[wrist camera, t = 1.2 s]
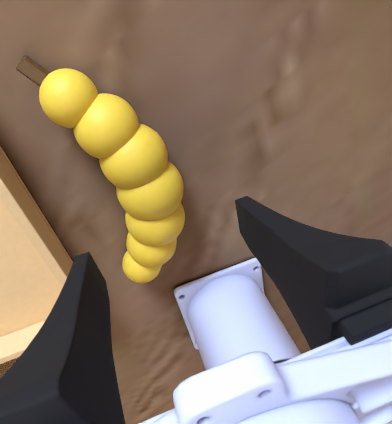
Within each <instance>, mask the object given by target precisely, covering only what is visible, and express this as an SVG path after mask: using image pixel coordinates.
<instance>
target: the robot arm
mask: <svg viewBox="0 0 392 424" xmlns="http://www.w3.org/2000/svg"><path fill="white" fill-rule="evenodd" d="M235 203H236V209H237V216H238V222H239V228H240V233H241V234H242V236H243V238H244V240H245V242H246V244H247V246H248V247H249V249H250V250H251V252H252V253H253V254H254V256H255V257H256V258H253V259H250V260H248V261H245V262H242V263H240V264H237V265H234V266H232V267H229V268H227V269H224V270H221V271H219V272H216V273H213V274H211V275H208V276H205V277H203V278H200V279H198V280H195V281H192V282H190V283H187V284H184V285H182V286H179V287H177V288H176V289H175V290H174V295H175V298H176V300H177V303H178V305H179V308H180V311H181V313H182V316H183V318H184V321H185V324H186V326H187V329H188V331H189V334H190V337H191V339H192V342H193V344H194V347H195V349H199V352H200V355H201V358H202V361H203V364H204V367H205V371H203V372H200V373H198V374H196V375H193V376H191V377H189V378H188V379H186V380H184V381H183V382H181V383H180V384H179V386H178V387H177V388H176V389H175V390H174V392H173V401H174V406H175V408H174V409H172V410H169V411H167V412H165V413H162V414H160V415H158V416H155V417H153V418H151V419H148V420H146V421H144V422H141V423H139V424H388V423H390V422H392V247H391V246H389V245H388V244H387V243H385V242H384V241H382V240H375V239H366V238H357V237H351V236H346V235H341V234H336V233H332V232H328V231H324V230H320V229H317V228H314V227H311V226H308V225H305V224H302V223H299V222H297V221H294V220H292V219H290V218H287V217H285V216H283V215H281V214H279V213H277V212H275V211H273V210H271V209H269V208H267V207H266V206H264V205H262V204H260V203H258V202H257V201H255V200H253V199H251V198H249V197H248V196H245V197H243V198H240V199H237V200H235ZM261 265H262V267H263V268H264V269H265V271H266V272H267V273H268V275H269V276H270V278H271V279H272V280H273V282H274V283H275V285H276V286H277V288H278V289H279V291H280V293H281V295H282V296H283V298H284V300H285V302H286V303H287V305H288V307H289V309H290V310H291V312H292V314H293V316H294V318H295V319H296V321H297V323H298V325H299V327H300V329H301V331H302V333H303V334H304V336H305V338H306V340H307V342H308V344H309V346H310V348H311V350H310V351H308V352H306V353H303V354H301V353H300V351H299V349H298V348H297V346H296V345H295V343H294V341H293V340H292V338H291V337H290V335H289V333H288V332H287V330H286V328H285V327H284V325H283V324H282V322H281V320H280V319H279V317H278V315H277V314H276V312H275V311H274V309H273V307H272V306H271V304H270V303H269V301H268V299H267V298H266V296H265V294H264V286H263V278H262V269H261ZM181 295H182V296H181ZM0 424H125V419H124V415H123V410H122V405H121V400H120V395H119V389H118V384H117V378H116V372H115V366H114V360H113V354H112V344H111V323H110V304H109V296H108V291H107V286H106V281H105V279H104V277H103V276H102V274H101V272H100V270H99V269H98V267H97V265H96V263H95V262H94V260H93V258H92V256H91V254H90V253H89V252H87V253H84V254H82V255H79V256H76V257H75V259H74V262H73V264H72V267H71V269H70V272H69V274H68V276H67V279H66V281H65V283H64V286H63V288H62V290H61V292H60V294H59V296H58V298H57V300H56V302H55V304H54V306H53V308H52V310H51V312H50V314H49V315H48V317H47V319H46V321H45V322H44V324H43V325H42V327H41V329H40V330H39V332H38V333H37V334H36V336H35V337H34V339H33V340H32V341H31V343H30V344H29V345H28V347H27V348H26V349H25V351H24V352H23V353H22V355H21V356H20V357H19V358H18V359H17V361H16V362H15V363H14V364H13V365H12V366H11V368H10V369H9V370H8V371H7V372H6V373H5V374H4V375H3V377H2V378H1V379H0Z"/></svg>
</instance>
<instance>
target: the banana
mask: <svg viewBox="0 0 392 424" xmlns="http://www.w3.org/2000/svg"><path fill="white" fill-rule="evenodd" d="M16 69H17V70H18V71H19V72H20V73H22V74H23V75H25V76H26V77H27V78H29V79H30V80H32V81H33V82H35V83H36V84H37V85H39V86H40V90H39V100H40V104H41V106H42V109H43V111H44V112H45V114H46V115H47V116H48V117H49V118H50V119H51V120H52V121H53V122H55V123H56V124H58V125H60V126H63V127H67V128H73V131H74V135H75V138H76V140H77V142H78V143H79V145H80V146H81V147H82V149H83V150H84V151H86V152H87V153H88V154H90V155H91V156H93V157H95V158H98V159H99V162H100V166H101V169H102V171H103V173H104V175H105V176H106V178H107V179H108V180H109V181H110V182H111V183H112V184H114V185H115V186H116V190H117V197H118V200H119V202H120V204H121V206H122V207H123V209H124V210H125V211H126V215H125V220H126V225H127V228H128V231H129V233H128V235H127V241H126V244H127V252H126V253H125V255H124V257H123V262H122V267H123V270H124V273H125V274H126V276H127V277H128V278H129V279H130V280H132V281H134V282H137V283H146V282H149V281H151V280H153V279H154V278H155V277H156V276H157V275H158V274H159V272H160V270H161V266H162V265H163V264H164V263H166V262H167V261H168V260H169V259H170V258H171V257H172V256H173V254H174V252H175V249H176V244H177V240H176V238H177V237H178V235H179V234H180V233H181V231H182V229H183V226H184V221H185V213H184V209H183V206H182V204H181V200H182V197H183V191H184V187H183V180H182V177H181V175H180V173H179V171H178V170H177V168H176V167H175V166H174V165H173V164H172V163H171V162H169V161H168V154H167V149H166V146H165V143H164V141H163V140H162V138H161V137H160V136H159V134H158V133H157V132H156V131H154V130H153V129H152V128H150V127H148V126H146V125H143V124H140V123H139V120H138V117H137V115H136V113H135V111H134V109H133V108H132V107H131V106H130V104H129V103H128V102H126V101H125V100H124V99H122V98H120V97H118V96H116V95H112V94H106V93H102V94H98V91H97V89H96V87H95V85H94V83H93V82H92V81H91V80H90V79H89V78H88V77H87V76H86V75H84V74H83V73H81V72H79V71H77V70H74V69H66V68H65V69H58V70H55V71H53V72H51V73H50V74H48V71H46V70H45V69H44V68H42V67H41V66H40V65H38V64H37V63H36V62H34V61H33V60H32V59H30V58H29V57H28V56H24V57H23V58H22V60H21V61H20V63H19V64H18V66H17V67H16Z"/></svg>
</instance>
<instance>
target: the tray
mask: <svg viewBox="0 0 392 424" xmlns="http://www.w3.org/2000/svg"><path fill="white" fill-rule="evenodd" d="M72 264H73V261H72V260H71V258H70V256H69V255H68V253H67V252H66V250H65V248H64V247H63V245H62V244H61V242H60V240H59V239H58V237H57V236H56V234H55V232H54V231H53V229H52V228H51V226H50V224H49V223H48V221H47V220H46V218H45V216H44V215H43V213H42V212H41V210H40V208H39V207H38V205H37V204H36V202H35V200H34V199H33V197H32V196H31V194H30V192H29V191H28V189H27V188H26V186H25V184H24V183H23V181H22V180H21V178H20V176H19V175H18V173H17V172H16V170H15V168H14V167H13V165H12V164H11V162H10V160H9V159H8V157H7V156H6V154H5V152H4V151H3V149H2V148H1V146H0V364H2V363H5V362H7V361H10V360H12V359H15V358H18V357H20V356H21V355H22V353H23V352H24V351H25V349H26V348H27V347H28V345H29V344H30V343H31V341H32V340H33V339H34V337H35V336H36V334H37V333H38V332H39V330H40V329H41V327H42V325H43V324H44V322H45V321H46V319H47V317H48V315H49V314H50V312H51V310H52V308H53V306H54V304H55V302H56V300H57V298H58V296H59V294H60V292H61V290H62V288H63V286H64V283H65V281H66V279H67V276H68V274H69V272H70V269H71V267H72Z"/></svg>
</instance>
